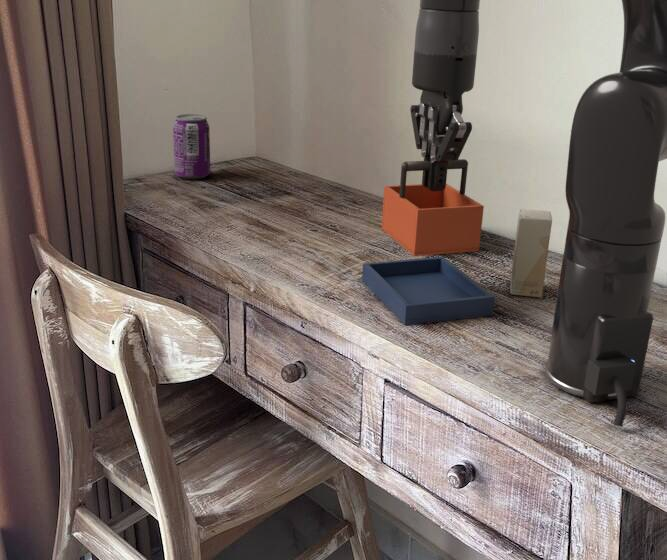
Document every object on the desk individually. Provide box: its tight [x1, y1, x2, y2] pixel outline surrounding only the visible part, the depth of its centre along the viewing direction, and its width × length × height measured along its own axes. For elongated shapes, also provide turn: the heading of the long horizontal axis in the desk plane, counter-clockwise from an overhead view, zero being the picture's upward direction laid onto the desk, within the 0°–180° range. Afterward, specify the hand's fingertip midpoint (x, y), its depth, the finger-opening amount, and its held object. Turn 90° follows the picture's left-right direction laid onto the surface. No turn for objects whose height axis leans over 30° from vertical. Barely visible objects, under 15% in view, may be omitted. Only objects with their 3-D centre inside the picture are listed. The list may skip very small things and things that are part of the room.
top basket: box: [381, 158, 485, 257], centre depth 105 cm, size 11×9×11 cm
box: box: [509, 208, 553, 298], centre depth 112 cm, size 5×4×11 cm
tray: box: [361, 256, 496, 326], centre depth 109 cm, size 15×12×3 cm
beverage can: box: [172, 113, 211, 180], centre depth 162 cm, size 7×7×12 cm
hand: (433, 188), depth 104 cm, fingers closed on top basket, 1 cm apart
